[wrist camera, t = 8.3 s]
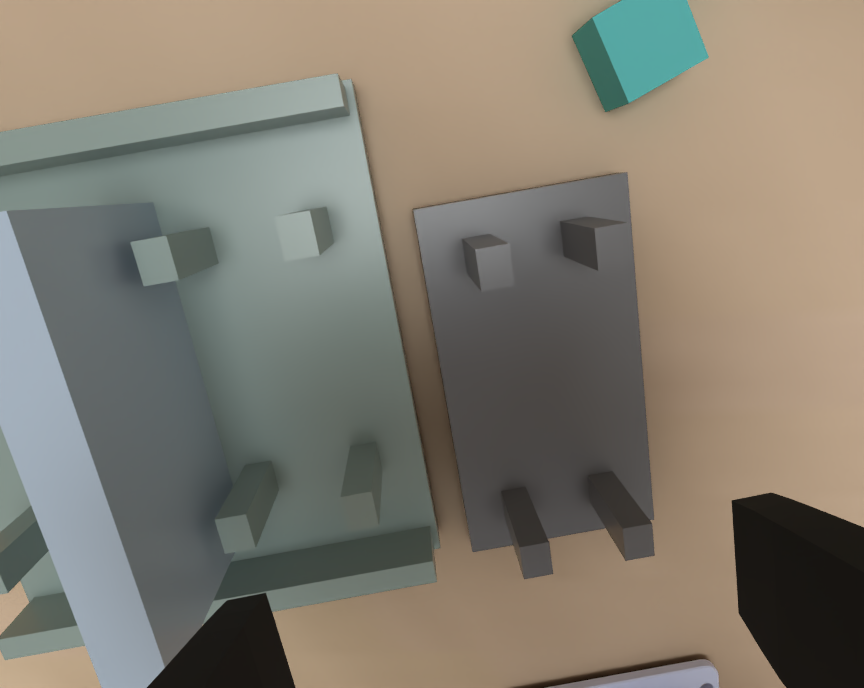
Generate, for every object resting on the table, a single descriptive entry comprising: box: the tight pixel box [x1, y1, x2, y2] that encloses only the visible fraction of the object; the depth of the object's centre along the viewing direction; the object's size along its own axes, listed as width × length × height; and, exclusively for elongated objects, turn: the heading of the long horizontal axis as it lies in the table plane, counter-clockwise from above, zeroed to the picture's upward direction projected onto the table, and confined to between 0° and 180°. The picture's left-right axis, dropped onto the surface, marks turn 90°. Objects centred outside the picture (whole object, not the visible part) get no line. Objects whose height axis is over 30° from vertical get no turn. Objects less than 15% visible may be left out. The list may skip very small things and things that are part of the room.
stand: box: [413, 172, 655, 579], centre depth 17 cm, size 11×6×4 cm, turn 10°
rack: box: [0, 73, 440, 660], centre depth 16 cm, size 14×13×4 cm
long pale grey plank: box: [0, 202, 235, 688], centre depth 14 cm, size 10×1×6 cm, turn 9°
